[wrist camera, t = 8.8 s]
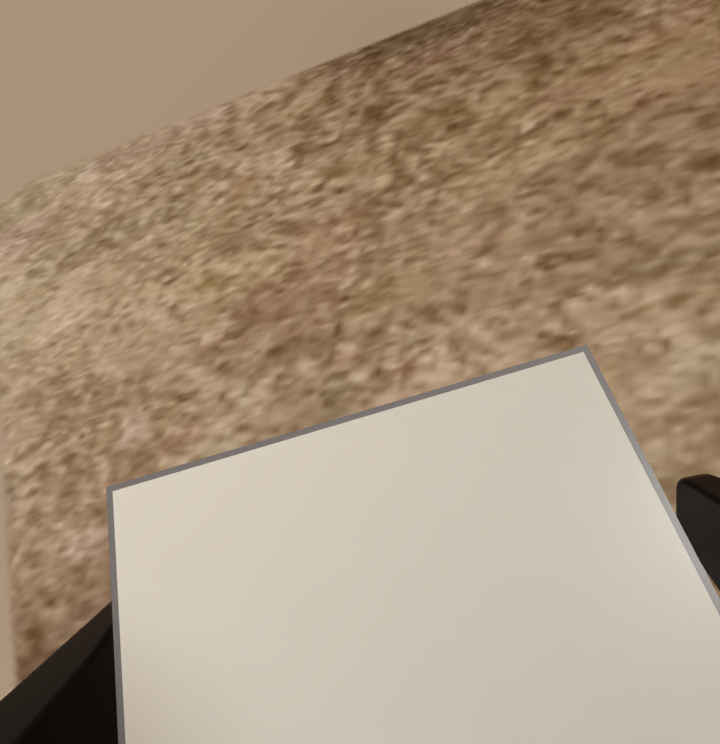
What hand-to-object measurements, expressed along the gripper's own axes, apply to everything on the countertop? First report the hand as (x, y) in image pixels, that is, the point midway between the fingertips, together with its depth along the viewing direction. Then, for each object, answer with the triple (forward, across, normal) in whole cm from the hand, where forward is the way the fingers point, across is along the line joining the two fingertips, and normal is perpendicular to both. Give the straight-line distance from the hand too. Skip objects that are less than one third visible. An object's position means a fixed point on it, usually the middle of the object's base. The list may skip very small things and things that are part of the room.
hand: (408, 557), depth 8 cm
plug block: (+5, 0, +6) cm, 8 cm away
